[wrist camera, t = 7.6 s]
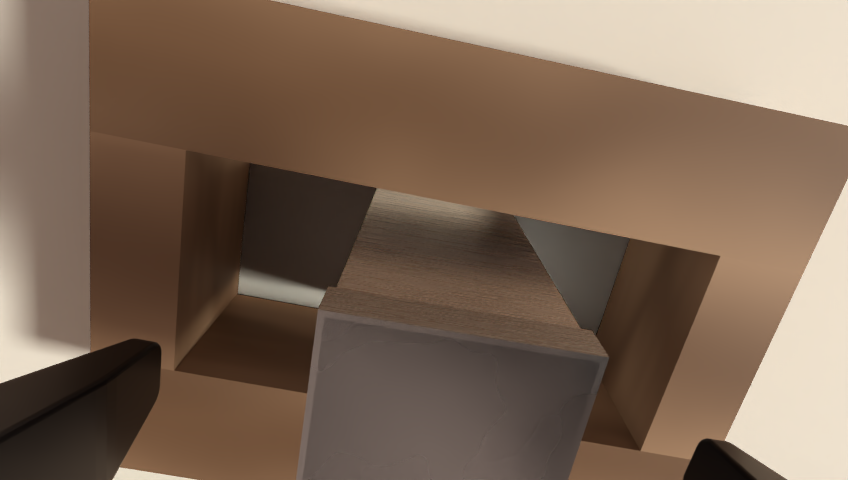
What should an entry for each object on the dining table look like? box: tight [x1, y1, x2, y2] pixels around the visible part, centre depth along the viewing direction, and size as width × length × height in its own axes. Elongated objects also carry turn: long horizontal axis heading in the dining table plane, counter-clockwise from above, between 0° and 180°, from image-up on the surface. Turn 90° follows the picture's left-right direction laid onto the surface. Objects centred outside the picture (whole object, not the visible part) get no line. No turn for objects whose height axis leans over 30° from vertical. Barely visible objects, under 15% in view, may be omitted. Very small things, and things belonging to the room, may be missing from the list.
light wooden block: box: [296, 188, 609, 480], centre depth 12 cm, size 4×4×9 cm
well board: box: [89, 0, 848, 480], centre depth 14 cm, size 12×16×4 cm
